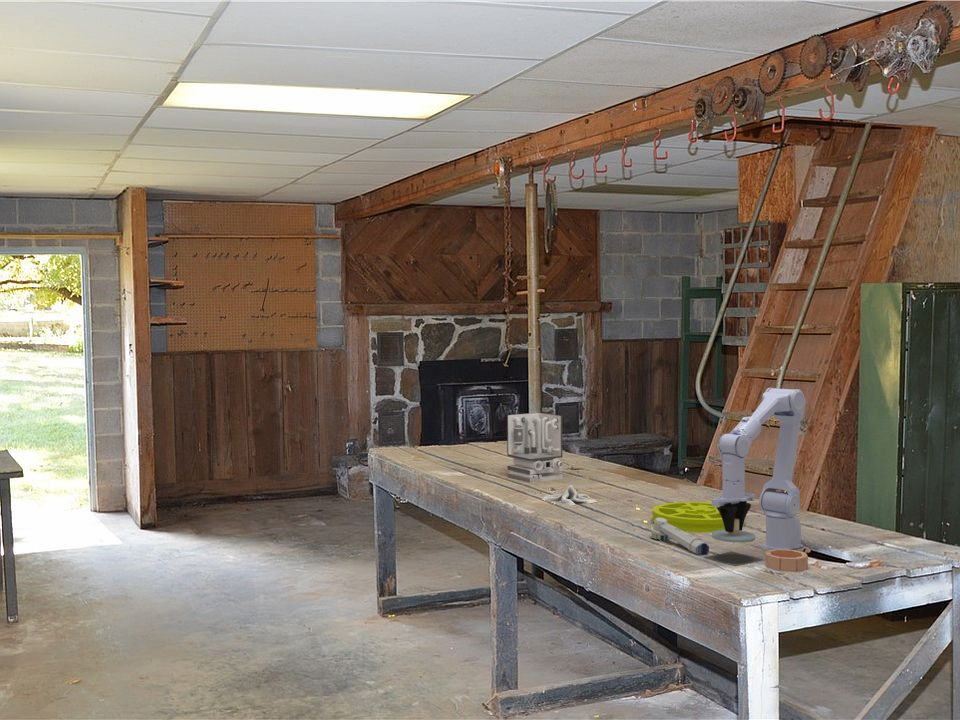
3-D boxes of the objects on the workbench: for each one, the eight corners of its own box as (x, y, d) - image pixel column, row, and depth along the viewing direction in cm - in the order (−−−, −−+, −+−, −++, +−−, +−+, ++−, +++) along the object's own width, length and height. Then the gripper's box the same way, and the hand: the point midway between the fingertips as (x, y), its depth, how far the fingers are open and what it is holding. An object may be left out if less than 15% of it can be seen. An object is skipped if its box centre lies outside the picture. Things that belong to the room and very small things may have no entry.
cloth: (534, 499, 350) (534, 482, 350) (583, 496, 354) (583, 479, 354) (555, 511, 328) (555, 492, 328) (607, 507, 333) (607, 489, 333)
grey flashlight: (695, 543, 262) (647, 513, 285) (693, 567, 263) (646, 535, 286) (712, 541, 264) (663, 512, 287) (710, 565, 265) (662, 533, 288)
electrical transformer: (539, 473, 402) (538, 412, 401) (567, 480, 386) (567, 416, 384) (507, 477, 393) (506, 415, 392) (535, 484, 377) (534, 419, 376)
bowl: (782, 560, 258) (783, 547, 258) (815, 568, 250) (815, 554, 250) (757, 566, 253) (757, 552, 252) (789, 574, 244) (789, 560, 244)
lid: (731, 531, 267) (732, 513, 266) (764, 539, 257) (764, 520, 257) (703, 536, 260) (703, 517, 260) (735, 544, 251) (735, 524, 251)
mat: (731, 552, 267) (731, 551, 267) (763, 561, 258) (763, 559, 258) (703, 558, 261) (703, 557, 261) (735, 567, 252) (735, 566, 252)
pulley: (744, 516, 315) (744, 501, 315) (743, 535, 289) (743, 519, 288) (656, 512, 323) (656, 497, 323) (648, 531, 296) (648, 514, 296)
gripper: (726, 484, 251) (726, 537, 251) (764, 478, 259) (764, 529, 260) (705, 481, 257) (705, 532, 257) (743, 475, 265) (743, 525, 265)
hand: (733, 530), depth 259 cm, fingers closed on lid, 3 cm apart
